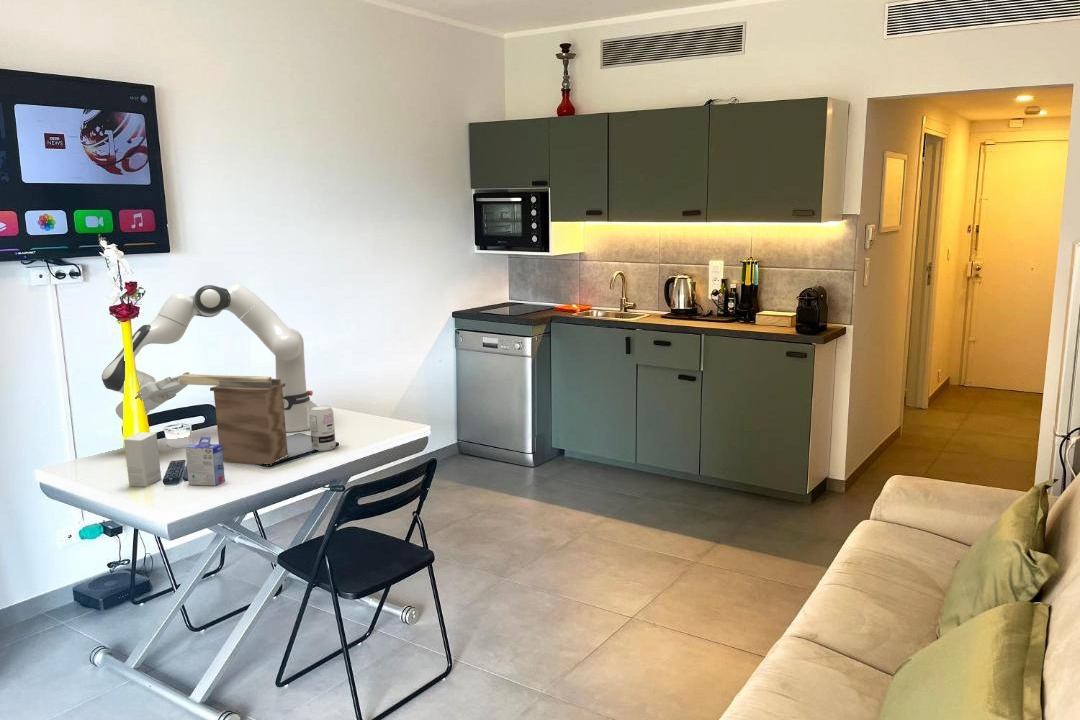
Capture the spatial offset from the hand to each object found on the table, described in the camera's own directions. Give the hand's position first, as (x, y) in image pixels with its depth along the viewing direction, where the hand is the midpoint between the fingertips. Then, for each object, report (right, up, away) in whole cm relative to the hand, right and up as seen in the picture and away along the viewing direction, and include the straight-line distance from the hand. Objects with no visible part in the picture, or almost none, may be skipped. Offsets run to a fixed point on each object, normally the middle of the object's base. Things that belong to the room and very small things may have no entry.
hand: (179, 376), depth 292 cm
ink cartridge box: (+21, -33, -28) cm, 48 cm away
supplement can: (+48, -26, +8) cm, 56 cm away
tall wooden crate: (+27, -29, -3) cm, 40 cm away
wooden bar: (+18, -3, -5) cm, 19 cm away
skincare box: (+1, -34, -26) cm, 42 cm away
